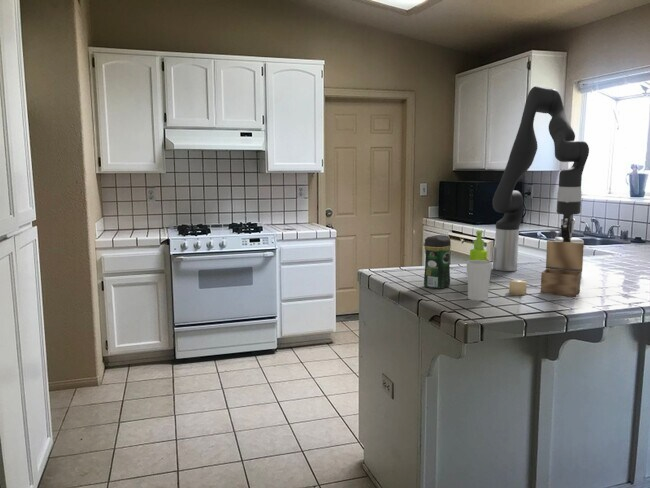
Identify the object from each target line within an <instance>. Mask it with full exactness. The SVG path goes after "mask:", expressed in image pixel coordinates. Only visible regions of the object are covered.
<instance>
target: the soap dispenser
mask: <svg viewBox="0 0 650 488" xmlns="http://www.w3.org/2000/svg"><path fill="white" fill-rule="evenodd" d="M475 233H476V239H474V240H473V248H471V249H469V260H484V261H488V250H487V249H485V248H484V247H485V240H483V239H482V236H483V235H482V234H483V233H484V232H483V230H476V232H475Z"/></svg>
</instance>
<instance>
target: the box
mask: <svg viewBox="0 0 650 488" xmlns="http://www.w3.org/2000/svg"><path fill="white" fill-rule="evenodd" d="M540 277H541V278H540V293H541V294H547V295H555V296H564V297H565V296H566V297H574V298H575V297H577V296H578V295H579V293H580V291H581V278H582V277H581V272H579V271H568V270H556V269H547V268H545V270H542V271H541V275H540Z"/></svg>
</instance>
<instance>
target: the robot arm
mask: <svg viewBox="0 0 650 488" xmlns="http://www.w3.org/2000/svg"><path fill="white" fill-rule="evenodd" d="M525 99H526V100H525V103H524V108H523V112H522V116H521V119H520V124H519V128H518V130H517V132H516V136H515V139H514V142H513V144H512V146H511V150H510V153H509V157H508V160H507V163H506V165H505V169H504V171H503V174H502V176H501V179H500V181H499V184H498V186H497V188H496V190H495V192H494V195H493V198H492V208H493V209H494V211H495V212H497V213H498V214H499V213H501V214H504V215H503V216H502V218H501V219H499V220H498V221H496V223H495V237H494V238H495V240H494V241H495V243H494V246H493V254H492V270H496V271H501V272H516V271H518V261H519V259H518V256H519V236H520V235H519V234H520V225H521V223H522V218H523V208H524V198H523V195H522V193H521V192H520V191H519V190H515V187H516V184H517V183H518V181H519V180H520V179H521V178H522V177H523V175H525V173H526V172H527V171H528V170H529V169H530V167H531V166H532V165H533V162H534V159H535V157H536V154H537V151H538V141H537V140H538V139H537V136H536V133H535V127H534V121H535V117H536V114H537V113H539V114H540V113H541V114H548V115H550V117H551V119H550V121H549V123H548V132H549V135H550V137H551V139H552V141H553V146H554V156H555V157H554V158H555V159H556V160H558V161H559V162H561V163H570V162H571V163H572V165H571V167H569V168H564V169H562V170H560V171H559V175H558V189H557V198H556V199H557V200H556V201H557V202H556V213H557V214H559V215H563V216H562V217H563V218H561V219H560V229H561V237H562V238H563V242H571V238H572V237H573V234H574V230H575V223H576V219H575V218H574V215H580V214H581V213H582V212H581V209H582V208H581V207H582V181H583V180H582V178H583V177H582V176H583V173H584V169H585V166H586V163H587V159H588V157H589V153H590V147H589V144H588V143H587V142H586V141H584V140H575V139H576V133H575V131H574V129H573V128H572V126H571V124H570V122H569V120H568V118H567V115H566V112H565V106H564V103H563V98H562V96H561V94H560V92H559V91H558V90H557V89H554V88H549V87H543V86H537V85H536V86H533V87H531V89H530V90H529V91H528V93H527V97H526V98H525Z"/></svg>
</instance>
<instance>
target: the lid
mask: <svg viewBox="0 0 650 488" xmlns="http://www.w3.org/2000/svg"><path fill="white" fill-rule="evenodd" d="M584 245H585V242H584V243H575V242H559V241H555V240H547V241H546V255H545V257H546V261H545V269H558V270H569V271H580V272H582V273H583V264H584Z"/></svg>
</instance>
